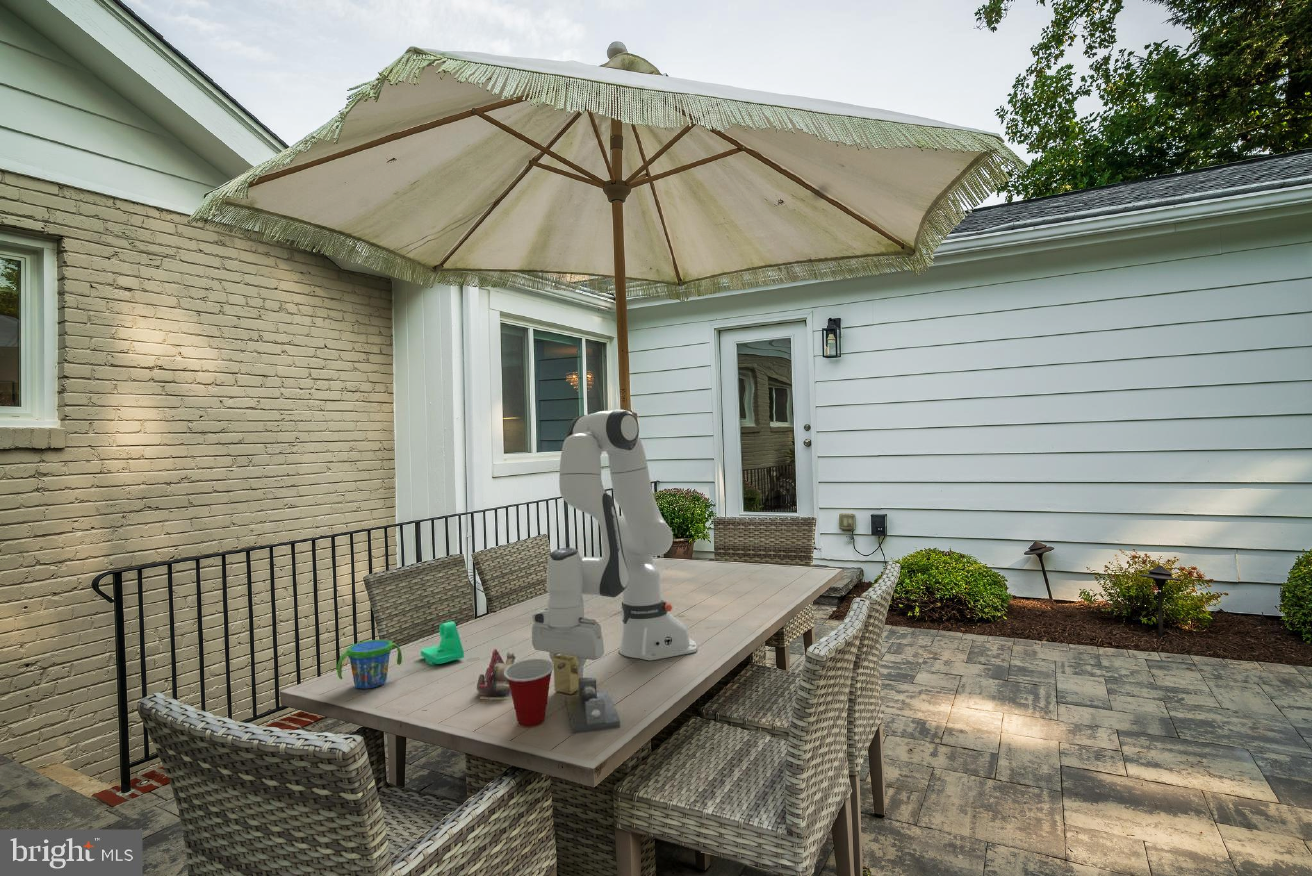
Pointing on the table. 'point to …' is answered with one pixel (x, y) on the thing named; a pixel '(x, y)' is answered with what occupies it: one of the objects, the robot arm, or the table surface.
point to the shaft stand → (591, 708)
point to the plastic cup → (529, 689)
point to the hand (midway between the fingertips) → (568, 672)
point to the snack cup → (369, 662)
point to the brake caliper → (495, 677)
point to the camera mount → (445, 646)
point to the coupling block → (565, 674)
